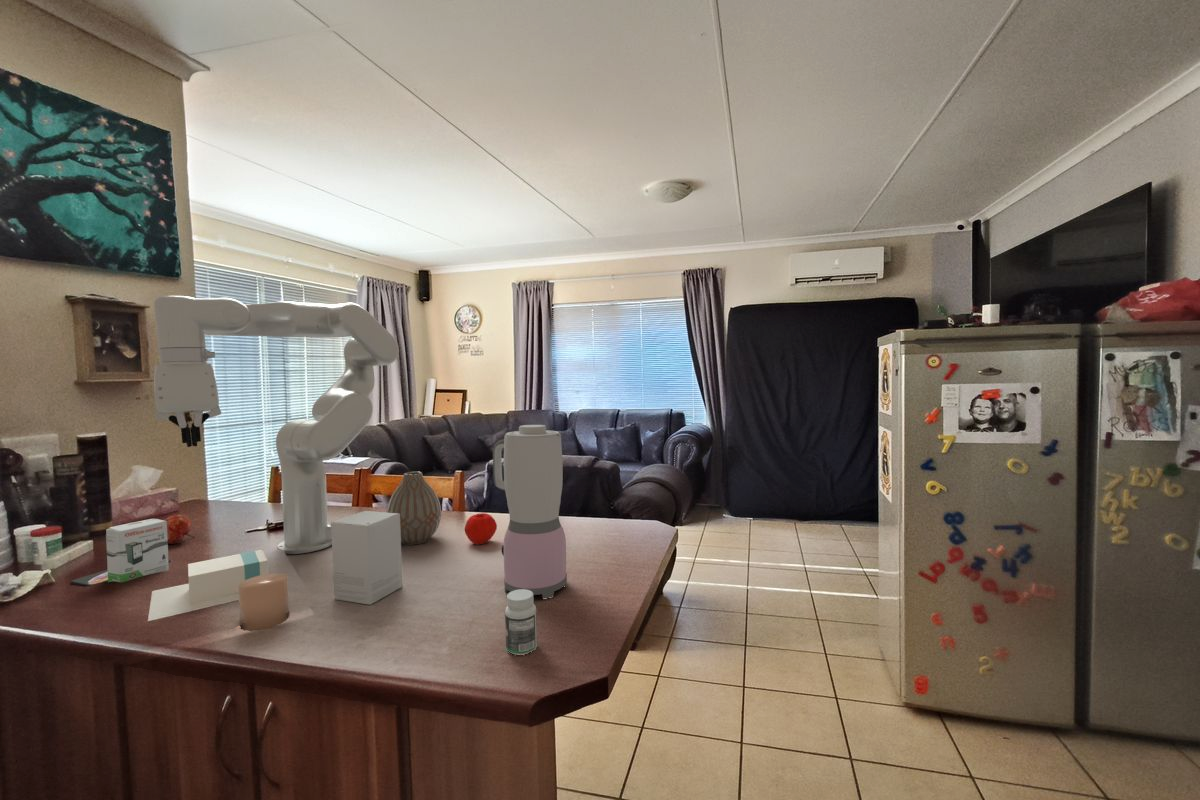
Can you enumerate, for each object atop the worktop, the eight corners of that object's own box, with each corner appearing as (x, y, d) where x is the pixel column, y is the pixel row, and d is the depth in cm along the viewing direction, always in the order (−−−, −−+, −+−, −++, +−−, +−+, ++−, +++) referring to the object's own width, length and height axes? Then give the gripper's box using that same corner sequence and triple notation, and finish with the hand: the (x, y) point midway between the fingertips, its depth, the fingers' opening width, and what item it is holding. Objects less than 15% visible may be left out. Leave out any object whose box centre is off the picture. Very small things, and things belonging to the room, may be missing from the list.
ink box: (121, 588, 102) (117, 531, 101) (107, 585, 104) (103, 528, 103) (170, 573, 110) (167, 519, 109) (156, 570, 112) (153, 517, 111)
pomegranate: (181, 545, 136) (141, 530, 129) (201, 520, 138) (163, 505, 132) (188, 554, 131) (147, 539, 124) (209, 528, 134) (170, 512, 127)
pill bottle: (514, 638, 80) (513, 586, 80) (542, 642, 79) (541, 589, 79) (500, 654, 76) (499, 599, 75) (529, 659, 74) (528, 602, 74)
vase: (395, 534, 136) (393, 469, 135) (446, 531, 137) (444, 467, 136) (380, 550, 122) (377, 479, 122) (435, 548, 124) (433, 477, 123)
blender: (578, 581, 102) (576, 424, 101) (546, 606, 91) (543, 430, 90) (514, 569, 109) (511, 421, 108) (477, 591, 98) (473, 427, 97)
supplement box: (404, 586, 101) (402, 512, 100) (370, 606, 93) (367, 525, 92) (368, 581, 104) (365, 509, 103) (332, 599, 95) (329, 521, 95)
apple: (493, 548, 123) (492, 518, 123) (460, 548, 123) (460, 518, 123) (500, 537, 131) (499, 509, 131) (469, 538, 131) (468, 509, 131)
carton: (189, 589, 98) (263, 573, 106) (190, 604, 92) (268, 585, 99) (188, 563, 98) (262, 549, 106) (188, 576, 91) (267, 560, 99)
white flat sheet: (258, 574, 108) (257, 568, 108) (267, 599, 96) (267, 592, 96) (152, 597, 98) (152, 591, 98) (148, 628, 85) (147, 621, 85)
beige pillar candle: (285, 607, 92) (283, 570, 92) (292, 621, 87) (290, 581, 87) (238, 620, 88) (236, 580, 88) (242, 635, 82) (240, 593, 82)
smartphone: (173, 559, 117) (91, 585, 103) (173, 563, 117) (91, 589, 103) (151, 556, 119) (68, 580, 105) (151, 559, 119) (68, 584, 105)
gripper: (226, 357, 111) (233, 439, 113) (134, 358, 102) (143, 449, 103) (230, 356, 106) (238, 443, 107) (133, 357, 96) (143, 453, 97)
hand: (192, 445), depth 105 cm, fingers closed
